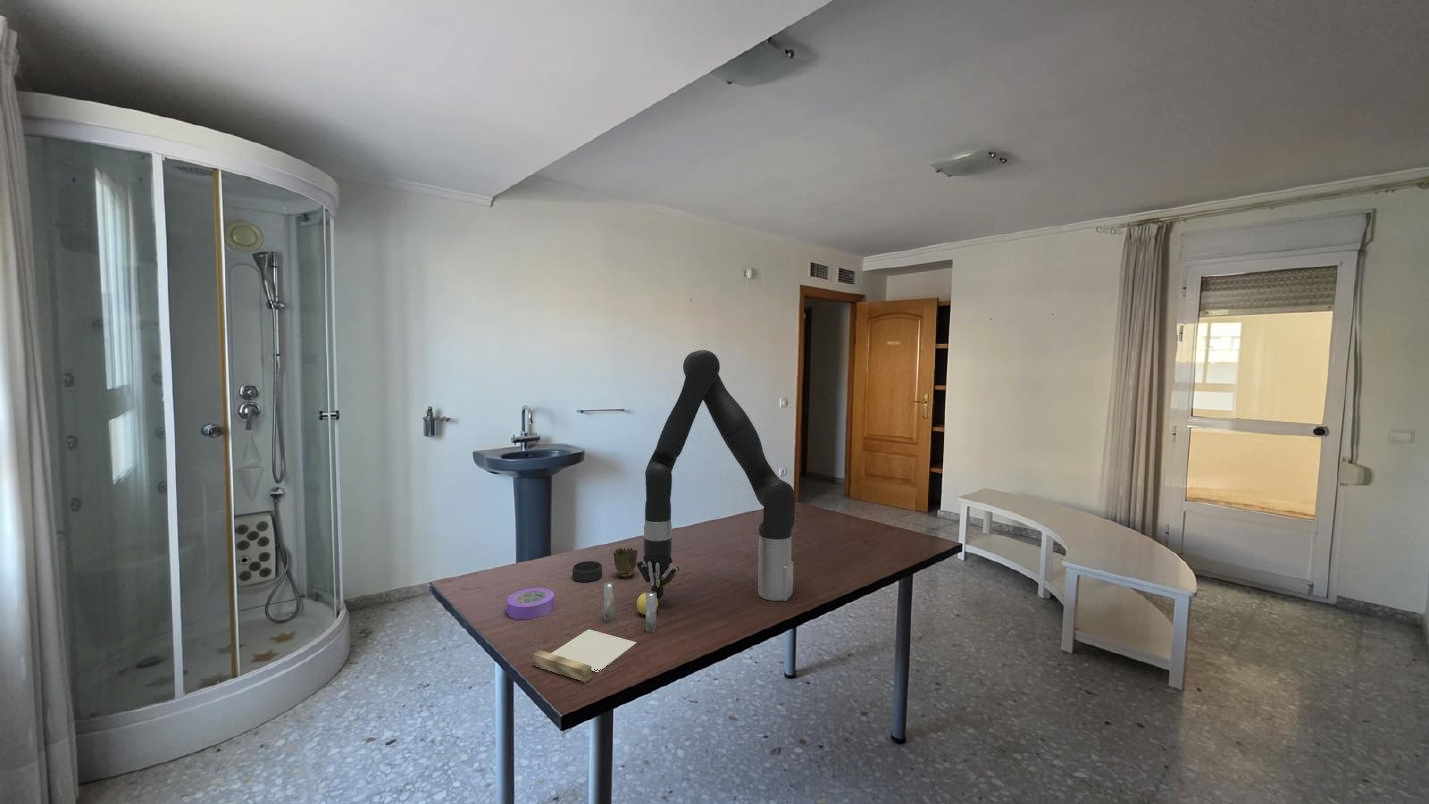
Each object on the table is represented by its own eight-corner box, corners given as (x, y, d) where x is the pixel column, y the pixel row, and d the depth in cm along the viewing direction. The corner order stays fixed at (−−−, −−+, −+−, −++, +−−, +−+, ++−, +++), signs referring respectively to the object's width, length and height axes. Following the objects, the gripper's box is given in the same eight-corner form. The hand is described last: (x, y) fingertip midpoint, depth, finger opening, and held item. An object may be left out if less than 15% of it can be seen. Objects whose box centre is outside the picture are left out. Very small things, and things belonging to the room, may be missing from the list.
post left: (616, 618, 132) (616, 583, 132) (609, 622, 129) (610, 586, 129) (608, 616, 133) (608, 581, 133) (601, 620, 131) (601, 585, 130)
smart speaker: (599, 583, 156) (599, 570, 155) (569, 583, 155) (569, 570, 155) (603, 572, 164) (603, 560, 164) (575, 573, 164) (575, 560, 164)
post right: (658, 628, 126) (658, 592, 126) (652, 633, 124) (652, 596, 124) (649, 626, 127) (649, 590, 127) (643, 630, 125) (643, 594, 125)
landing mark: (636, 643, 119) (636, 642, 119) (597, 673, 106) (597, 672, 106) (588, 630, 125) (588, 629, 125) (546, 657, 113) (546, 656, 113)
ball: (654, 595, 132) (651, 617, 130) (662, 593, 137) (659, 615, 135) (635, 591, 133) (631, 613, 132) (643, 589, 138) (640, 611, 137)
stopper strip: (591, 678, 105) (591, 666, 105) (584, 683, 103) (584, 671, 103) (539, 661, 111) (539, 650, 111) (532, 666, 109) (532, 654, 109)
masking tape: (535, 623, 129) (535, 608, 129) (497, 617, 132) (497, 602, 132) (562, 604, 140) (562, 590, 140) (526, 599, 144) (526, 585, 143)
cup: (632, 581, 156) (632, 555, 156) (609, 579, 158) (609, 553, 157) (640, 573, 163) (640, 548, 163) (618, 571, 165) (619, 546, 165)
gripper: (685, 535, 140) (685, 598, 141) (645, 528, 146) (644, 589, 147) (671, 542, 133) (671, 608, 134) (629, 535, 139) (629, 599, 140)
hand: (657, 598), depth 140 cm, fingers closed
